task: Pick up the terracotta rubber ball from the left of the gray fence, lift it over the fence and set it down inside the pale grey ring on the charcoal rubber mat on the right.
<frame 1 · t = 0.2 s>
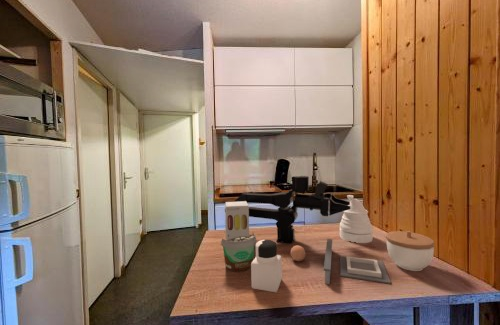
hand: (350, 205, 87), 16 cm above the table, tool horizontal, fingers open, 9 cm apart
gray fence: (328, 264, 75), on the table
lidded bowl: (408, 266, 73), on the table
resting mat: (362, 269, 72), on the table
medicine bottle: (267, 284, 65), on the table
ball: (297, 253, 79), point 2 cm above the table
food container: (242, 269, 74), on the table
honey pot: (355, 237, 99), on the table
supplement box: (237, 244, 95), on the table
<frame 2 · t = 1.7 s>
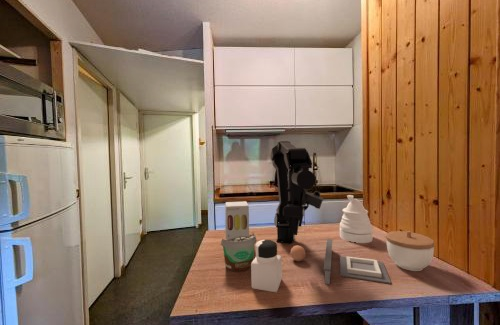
hand: (297, 230, 79), 10 cm above the table, tool pointing down, fingers open, 9 cm apart
nothing on the table moved.
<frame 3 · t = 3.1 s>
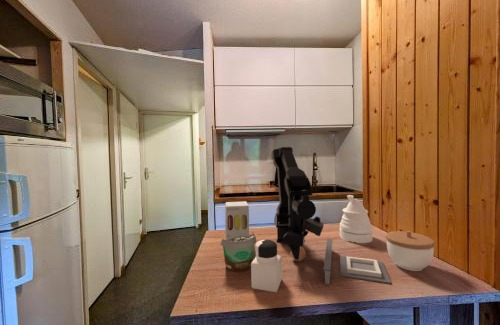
hand: (298, 255, 79), 2 cm above the table, tool pointing down, fingers closed on ball, 5 cm apart
ball: (297, 253, 79), point 2 cm above the table, touching gripper
everything else where it was.
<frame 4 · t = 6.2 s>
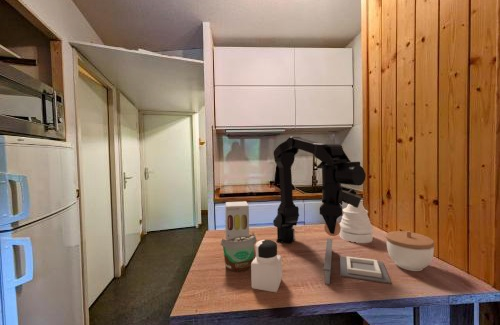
hand: (332, 230, 74), 11 cm above the table, tool pointing down, fingers closed on ball, 5 cm apart
ball: (332, 227, 74), point 12 cm above the table, touching gripper
everything else where it was.
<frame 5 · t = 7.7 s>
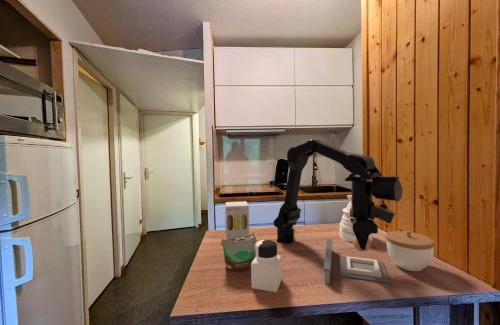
hand: (362, 246, 72), 7 cm above the table, tool pointing down, fingers closed on ball, 5 cm apart
ball: (362, 243, 72), point 8 cm above the table, touching gripper
everything else where it was.
when the fingers open (3 cm above the table, at t = 9.2 s): ball stays where it is, resting on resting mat.
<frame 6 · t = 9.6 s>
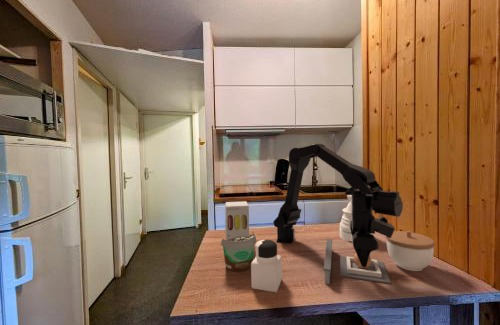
hand: (362, 259, 72), 3 cm above the table, tool pointing down, fingers open, 9 cm apart
ball: (362, 259, 72), point 3 cm above the table, touching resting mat
everything else where it was.
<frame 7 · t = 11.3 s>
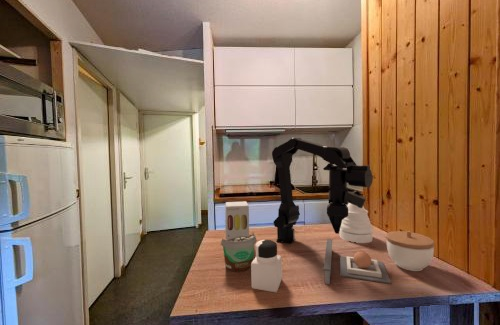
hand: (337, 228, 79), 10 cm above the table, tool pointing down, fingers open, 9 cm apart
nothing on the table moved.
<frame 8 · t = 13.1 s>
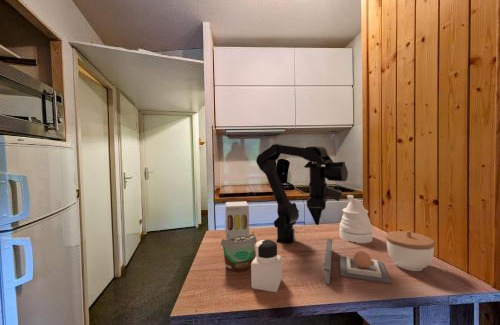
hand: (318, 221, 87), 11 cm above the table, tool pointing down, fingers open, 9 cm apart
nothing on the table moved.
at the end: ball 0.1 cm from the target spot, point 3.0 cm above the table; ball moved 20.0 cm from its start; the gripper is holding nothing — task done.
